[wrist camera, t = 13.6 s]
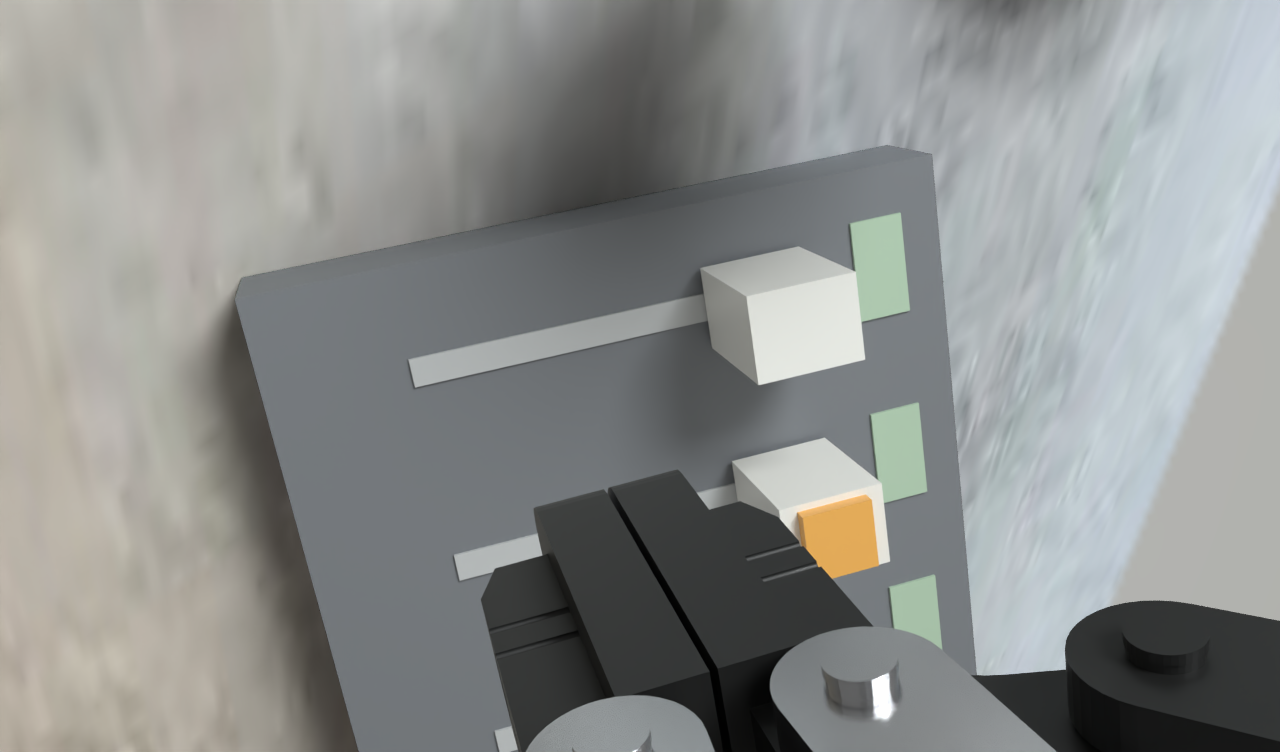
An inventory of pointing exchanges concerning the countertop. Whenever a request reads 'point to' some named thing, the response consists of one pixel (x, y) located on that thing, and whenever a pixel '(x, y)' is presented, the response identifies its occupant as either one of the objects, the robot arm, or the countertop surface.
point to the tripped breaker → (820, 503)
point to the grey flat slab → (588, 412)
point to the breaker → (783, 314)
